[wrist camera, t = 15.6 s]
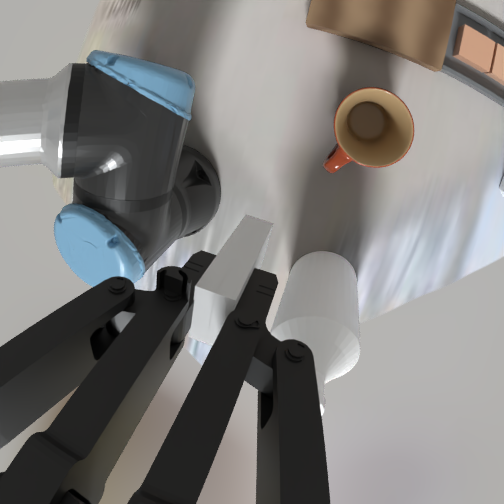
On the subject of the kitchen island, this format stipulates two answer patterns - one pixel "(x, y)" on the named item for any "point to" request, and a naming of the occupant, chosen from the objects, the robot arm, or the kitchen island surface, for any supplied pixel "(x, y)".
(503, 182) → the jar
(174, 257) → the kitchen island surface
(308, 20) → the board
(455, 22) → the tray
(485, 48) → the tile
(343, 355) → the bottle
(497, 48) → the tile
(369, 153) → the mug
